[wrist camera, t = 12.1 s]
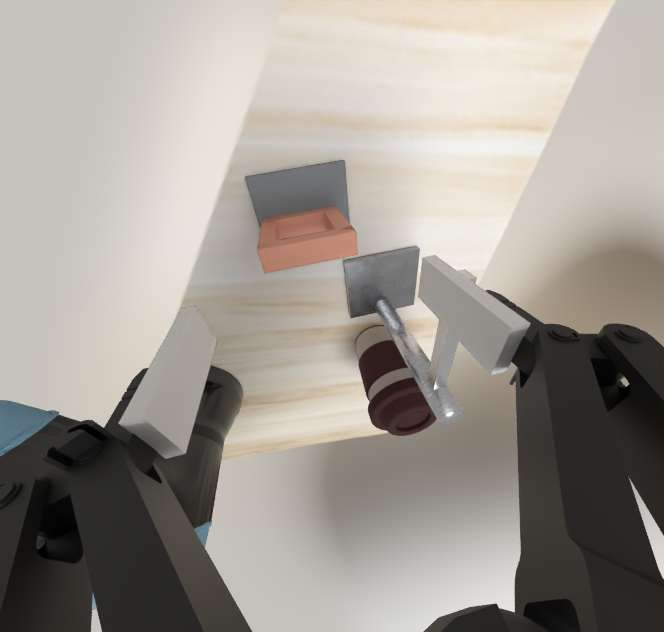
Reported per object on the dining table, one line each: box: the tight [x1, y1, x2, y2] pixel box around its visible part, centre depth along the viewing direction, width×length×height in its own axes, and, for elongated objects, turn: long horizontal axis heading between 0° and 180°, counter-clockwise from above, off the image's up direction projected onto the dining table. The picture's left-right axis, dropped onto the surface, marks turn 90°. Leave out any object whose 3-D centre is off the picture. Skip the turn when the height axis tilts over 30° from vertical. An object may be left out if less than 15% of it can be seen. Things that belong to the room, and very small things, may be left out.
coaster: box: [245, 160, 350, 240], centre depth 27 cm, size 10×10×1 cm
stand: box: [344, 246, 476, 425], centre depth 25 cm, size 10×14×19 cm
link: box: [257, 206, 358, 273], centre depth 23 cm, size 8×2×9 cm, turn 97°
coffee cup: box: [355, 326, 437, 436], centre depth 35 cm, size 10×10×15 cm
